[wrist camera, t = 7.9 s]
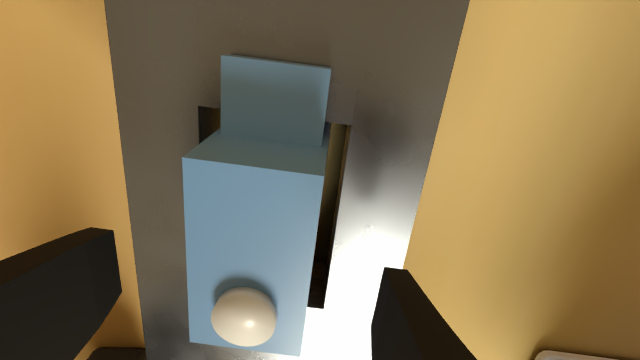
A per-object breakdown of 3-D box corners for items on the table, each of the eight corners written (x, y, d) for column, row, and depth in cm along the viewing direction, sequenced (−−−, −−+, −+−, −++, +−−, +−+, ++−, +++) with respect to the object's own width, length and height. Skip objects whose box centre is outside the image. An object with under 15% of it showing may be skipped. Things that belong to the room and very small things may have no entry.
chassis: (452, -46, 11) (487, -71, 9) (363, 350, 18) (367, 407, 16) (151, -81, 11) (90, -118, 9) (177, 326, 19) (148, 377, 16)
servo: (339, 60, 13) (336, 83, 7) (309, 283, 17) (292, 417, 11) (248, 48, 13) (169, 61, 7) (240, 274, 17) (186, 402, 11)
